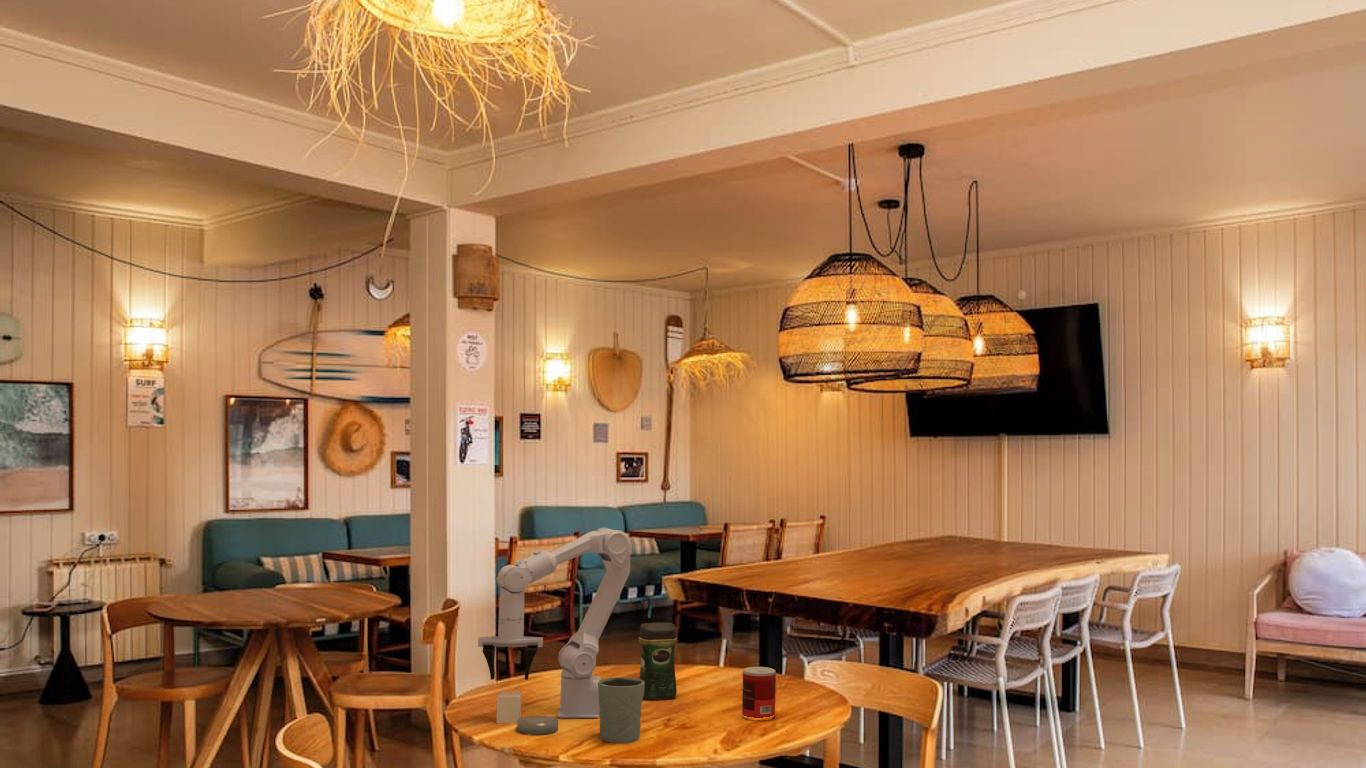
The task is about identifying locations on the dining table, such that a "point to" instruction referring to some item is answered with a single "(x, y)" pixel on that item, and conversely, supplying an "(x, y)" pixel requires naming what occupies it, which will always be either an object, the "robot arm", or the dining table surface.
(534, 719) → the slate trivet
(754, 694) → the canned food
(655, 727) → the dining table surface
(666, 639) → the coffee jar
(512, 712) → the cream block
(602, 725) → the green cup
